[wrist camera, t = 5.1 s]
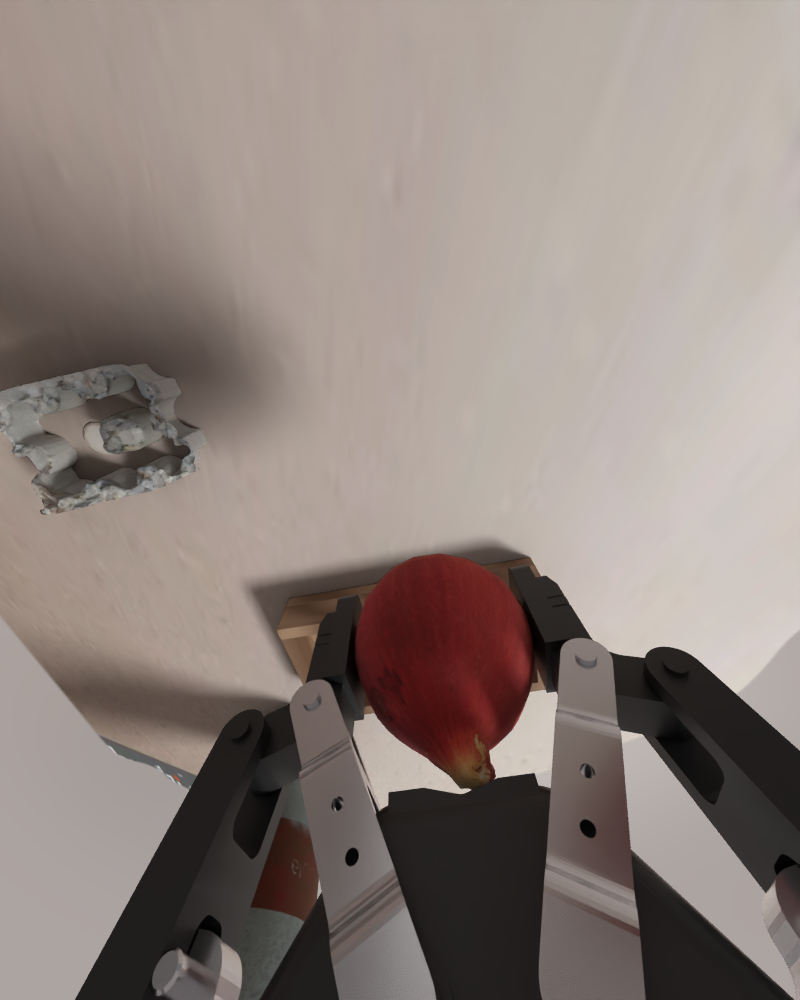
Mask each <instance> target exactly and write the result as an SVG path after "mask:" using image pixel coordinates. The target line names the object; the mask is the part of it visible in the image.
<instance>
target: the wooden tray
mask: <svg viewBox="0 0 800 1000" xmlns="http://www.w3.org/2000/svg"><path fill="white" fill-rule="evenodd" d="M524 565H529V566H530V568H531V570H532V572H533V573H534V575H535V577H541V576H540V574H539V572H538V570H537V569H536V567H535V565H534V563H533V561H532V560H531V558H524V559H518V560H512V561H506V562H500V563H495V564H489V565H483V566H482V567H484V568H485V569H487V570H489V571H490V572H492V573H494V574H495V575H497V576H499V577H500V578H502V580H503V581H504V582H505V583H506V585H507V586H508V587H509V576H508V568H512V567H518V566H524ZM377 584H378V583H377ZM377 584H371V585H366V586H360V587H354V588H348V589H342V590H336V591H330V592H325V593H319V594H313V595H307V596H301V597H295V598H289V601H288V603H287V606H286V608H285V611H284V613H283V616H282V618H281V620H280V623H279V625H278V628H277V630H276V631H277V633H278V635H279V637H280V639H281V641H282V643H283V645H284V647H285V649H286V651H287V653H288V655H289V657H290V659H291V661H292V663H293V665H294V667H295V669H296V671H297V673H298V675H299V677H300V679H301V681H302V683H303V685H304V684H305V683H306V679H307V675H308V671H309V667H310V663H311V659H312V654H313V650H314V647H315V642H316V638H317V634H318V629H319V625H320V623H321V622H322V620H323V619H324V617H325V616H326V614H327V613H331V612H335V611H336V606H337V601H338V598H340V597H346V596H351V595H358V596H359V598H360V601H361V604H362V607H363V605H364V602H365V599H366V597H367V596H368V595H369V593H370V592H371V591H372V590H373V589H374V587H375V586H376V585H377ZM509 589H510V587H509ZM539 690H546V689H545V687H544V684H543V682H542V679H541V677H540V675H539V672H538V670H537V667H536V665H535V669H534V678H533V682H532V686H531V690H530V692H532V691H539ZM371 713H374V711H373V709H372V707H371V705H370V704H369V701H368V699H367V696H366V695H365V709H364V714H371Z"/></svg>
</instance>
